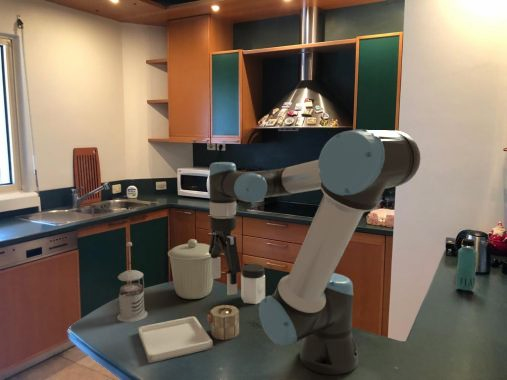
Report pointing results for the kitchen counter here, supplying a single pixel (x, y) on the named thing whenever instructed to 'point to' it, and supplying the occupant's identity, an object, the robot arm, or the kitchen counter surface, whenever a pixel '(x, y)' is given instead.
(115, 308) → the kitchen counter surface
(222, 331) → the ring
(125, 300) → the french press
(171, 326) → the tray
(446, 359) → the kitchen counter surface
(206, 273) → the canister
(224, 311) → the stake
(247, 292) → the jar
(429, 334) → the kitchen counter surface
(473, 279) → the beverage bottle
